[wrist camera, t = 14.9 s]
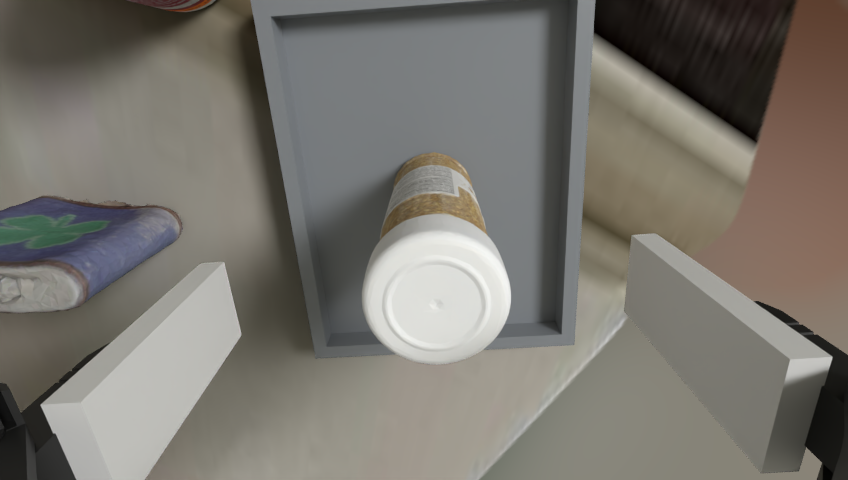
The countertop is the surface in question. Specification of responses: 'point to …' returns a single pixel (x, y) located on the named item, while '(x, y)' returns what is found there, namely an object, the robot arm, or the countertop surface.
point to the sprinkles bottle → (435, 268)
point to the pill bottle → (176, 4)
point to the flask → (74, 249)
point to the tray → (431, 142)
